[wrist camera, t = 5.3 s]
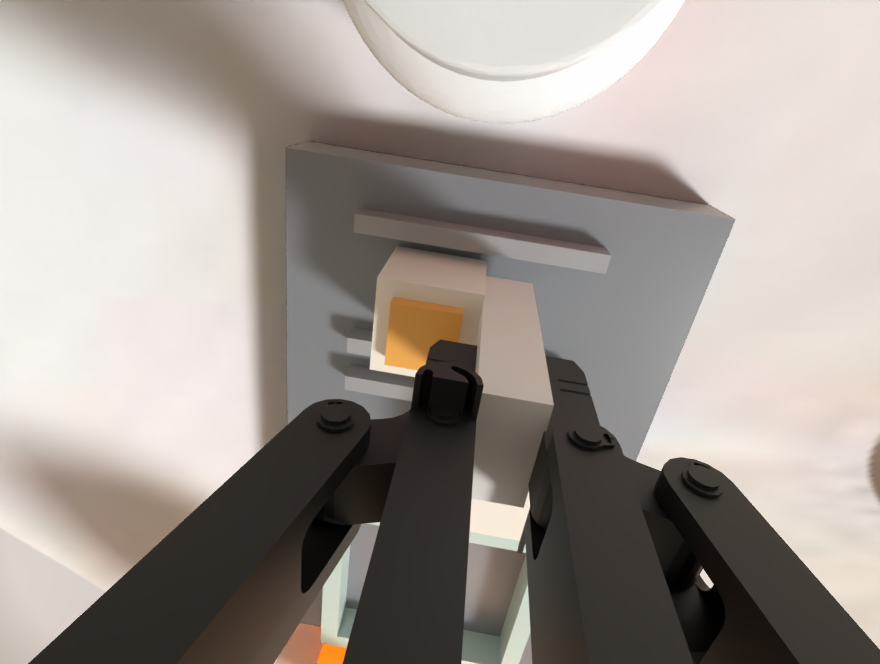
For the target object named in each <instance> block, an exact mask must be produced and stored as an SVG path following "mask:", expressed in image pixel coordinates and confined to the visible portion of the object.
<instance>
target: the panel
mask: <svg viewBox="0 0 880 664" xmlns="http://www.w3.org/2000/svg"><path fill="white" fill-rule="evenodd" d="M734 222H735V219H734V218H732V217H730V216H729V215H727V214H725V213H723V212H721V211H720V210H718V209H716V208H714V207H712V206H711V205H705V204H699V203H693V202H686V201H680V200H674V199H668V198H661V197H655V196H649V195H642V194H636V193H630V192H624V191H617V190H611V189H605V188H599V187H592V186H586V185H580V184H573V183H567V182H561V181H555V180H548V179H542V178H536V177H529V176H523V175H517V174H511V173H504V172H498V171H492V170H485V169H479V168H473V167H467V166H460V165H454V164H448V163H441V162H435V161H429V160H423V159H416V158H410V157H404V156H397V155H391V154H385V153H379V152H372V151H366V150H360V149H354V148H347V147H341V146H335V145H328V144H322V143H316V142H310V141H307V142H303V143H300V144H296V145H293V146H289V147H286V277H287V425H288V424H289V423H290V422H291V421H292V420H293V419H294V418H296V417H297V416H298V415H299V414H300V413H301V412H302V411H303V410H304V409H305V408H307V407H309V406H310V405H312V404H313V403H315V402H319V401H323V400H326V399H343V400H348V401H353V402H355V403H357V404H359V405H361V406H363V407H364V408H365V409H366V410H367V412H368V413H369V414H370V419H385V418H393V417H396V416H400V415H402V414H404V413H406V412H408V411H409V410H410V409H411V404H412V396H413V389H414V381H415V377H411V376H405V375H399V374H393V373H388V372H382V371H376V370H370V358H371V346H372V334H373V322H374V310H375V298H376V286H377V277H378V275H379V274H380V272H381V270H382V269H383V267H384V266H385V264H386V263H387V261H388V259H389V258H390V256H391V255H392V253H393V252H394V250H395V248H396V247H397V246H401V247H407V248H413V249H419V250H425V251H431V252H437V253H443V254H449V255H455V256H461V257H467V258H473V259H479V260H485V261H487V270H486V276H491V277H497V278H503V279H509V280H515V281H521V282H527V283H533V288H534V294H535V299H536V305H537V311H538V317H539V322H540V328H541V334H542V340H543V346H544V351H545V356H548V357H554V358H560V359H566V360H572V361H574V362H575V363H576V364H577V365H578V366H579V367H580V368H581V369H582V370H583V372H584V373H585V376H586V380H587V383H588V387H589V390H590V393H591V395H590V396H592V400H593V403H594V406H595V410H596V413H597V416H598V420H599V423H600V426H602V427H604V428H605V429H607V430H608V431H609V432H610V433H611V434H613V435H614V436H615V437H616V439H617V441H618V442H619V444H620V446H621V449H622V452H623V455H624V456H626V457H627V458H630V459H632V460H634V461H636V459H637V457H638V454H639V452H640V449H641V447H642V444H643V442H644V440H645V437H646V435H647V432H648V430H649V428H650V425H651V423H652V420H653V418H654V415H655V413H656V411H657V408H658V406H659V403H660V401H661V398H662V396H663V394H664V391H665V389H666V386H667V384H668V382H669V379H670V377H671V374H672V372H673V369H674V367H675V365H676V362H677V360H678V357H679V355H680V352H681V350H682V348H683V345H684V343H685V340H686V338H687V336H688V333H689V331H690V328H691V326H692V323H693V321H694V319H695V316H696V314H697V311H698V309H699V306H700V304H701V302H702V299H703V297H704V294H705V292H706V289H707V287H708V285H709V282H710V280H711V277H712V275H713V273H714V270H715V268H716V265H717V263H718V260H719V258H720V256H721V253H722V251H723V248H724V246H725V243H726V241H727V239H728V236H729V234H730V231H731V229H732V227H733V224H734ZM379 525H380V522H376V523H365V524H361V526H360V529H359V531H358V533H357V535H356V536H355V538H354V539H353V541H352V542H351V544H350V545H349V547H348V549H347V550H346V552H345V553H344V555H343V556H342V558H341V559H340V561H339V562H338V564H337V566H336V567H335V569H334V570H333V572H332V573H331V575H330V576H329V578H328V579H327V581H326V583H325V584H324V586H323V587H322V589H321V590H320V592H319V593H318V595H317V597H316V598H315V600H314V601H313V603H312V604H311V606H310V607H309V609H308V610H307V612H306V614H305V615H304V617H303V618H302V620H301V621H300V623H304V624H310V625H315V626H320V627H321V642H320V643H323V644H328V645H333V646H338V647H343V648H347V645H348V641H349V637H350V633H351V630H352V626H353V622H354V619H355V615H356V611H357V607H358V604H359V600H360V596H361V592H362V589H363V585H364V581H365V578H366V574H367V570H368V566H369V563H370V559H371V555H372V551H373V548H374V544H375V540H376V537H377V533H378V529H379ZM519 542H520V541H517V540H512V539H506V538H501V537H495V536H490V535H484V534H479V533H473V532H469V548H468V564H467V580H466V597H465V613H464V629H463V645H462V661H461V664H532V649H531V631H530V613H529V596H528V578H527V560H526V544H525V546H524V550H523V553H522V554H521V553H517V550H518V545H519Z"/></svg>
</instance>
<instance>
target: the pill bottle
mask: <svg viewBox="0 0 880 664" xmlns="http://www.w3.org/2000/svg"><path fill="white" fill-rule="evenodd" d="M343 1H344V4H345V6H346V9H347V11H348V13H349V15H350V17H351V19H352V21H353V23H354V25H355V27H356V28H357V30H358V32H359V34H360V36H361V37H362V39H363V41H364V42H365V44H366V45H367V47H368V48H369V49H370V51H371V52H372V54H373V55H374V56H375V58H376V59H377V60H378V61H379V63H380V64H381V65H382V66H383V67H384V68H385V69H386V70H387V71H388V72H389V73H390V74H391V76H392V77H393V78H394V79H395V80H397V81H398V82H399V83H400V84H401V85H402V86H404V87H405V88H406V89H407V90H408V91H410V92H411V93H413V94H414V95H416V96H417V97H418V98H420V99H422V100H423V101H425V102H427V103H428V104H430V105H432V106H434V107H436V108H438V109H440V110H442V111H444V112H447V113H450V114H452V115H455V116H458V117H461V118H465V119H469V120H473V121H478V122H485V123H497V124H512V123H521V122H528V121H534V120H538V119H542V118H546V117H550V116H554V115H556V114H559V113H562V112H564V111H567V110H570V109H572V108H574V107H576V106H578V105H580V104H582V103H584V102H586V101H588V100H589V99H591V98H593V97H595V96H596V95H598V94H599V93H601V92H603V91H604V90H605V89H607V88H608V87H610V86H611V85H612V84H614V83H615V82H616V81H618V80H619V79H620V78H621V77H622V76H624V75H625V74H626V73H627V72H628V71H629V70H631V69H632V68H633V67H634V66H635V65H636V64H637V63H638V62H639V61H640V60H641V59H642V58H643V57H644V56H645V55H646V54H647V53H648V51H649V50H650V49H651V48H652V47H653V46H654V45H655V43H656V42H657V41H658V40H659V38H660V37H661V35H662V34H663V33H664V31H665V30H666V29H667V27H668V26H669V25H670V23H671V22H672V21H673V19H674V17H675V16H676V14H677V13H678V11H679V10H680V8H681V6H682V4H683V2H684V1H685V0H343Z"/></svg>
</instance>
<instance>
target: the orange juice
mask: <svg viewBox="0 0 880 664" xmlns="http://www.w3.org/2000/svg"><path fill="white" fill-rule="evenodd" d="M345 652H346V648H343V647H338V646H333V645H328V644H324V645H322V649H321V652H320V655H319V658H318V661H317V664H342V663H343V660H344V656H345Z"/></svg>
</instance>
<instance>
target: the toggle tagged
mask: <svg viewBox="0 0 880 664" xmlns="http://www.w3.org/2000/svg"><path fill="white" fill-rule="evenodd" d="M486 270H487V261H485V260H479V259H473V258H467V257H461V256H455V255H449V254H443V253H437V252H431V251H425V250H419V249H413V248H407V247H401V246H397V247H396V248H395V250H394V252H393V253H392V255H391V256H390V258H389V259H388V261H387V263H386V264H385V266H384V267H383V269H382V270H381V272H380V274H379V275H378V277H377V286H376V298H375V310H374V322H373V334H372V346H371V358H370V370H376V371H382V372H388V373H393V374H399V375H405V376H411V377H415V374H416V372H417V371H418V369H419V368H420V367H422V366H424V365H425V364H426V360H427V357H428V353H429V349H430V347H431V346H432V345H434V344H435V343H436V342H437V341H439V340H440V339H441V340H447V341H452V342H458V343H464V344H470V345H475V341H476V336H477V331H478V325H479V320H480V315H481V310H482V305H483V299H484V297H485V285H486Z"/></svg>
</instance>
